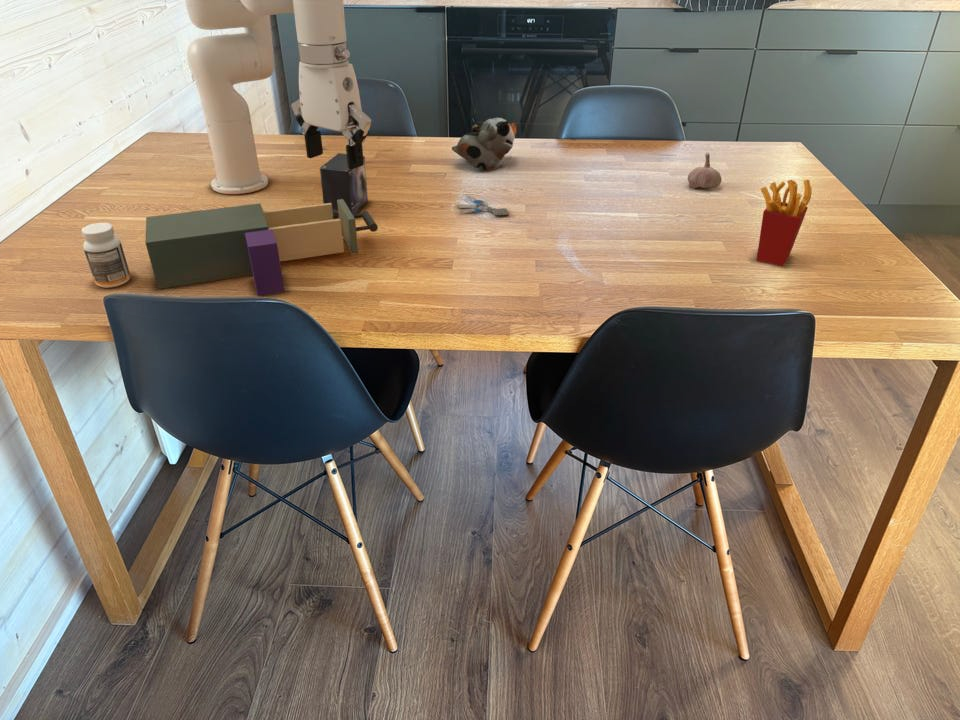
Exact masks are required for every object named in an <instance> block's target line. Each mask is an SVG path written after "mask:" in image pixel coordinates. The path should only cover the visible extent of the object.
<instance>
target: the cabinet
mask: <svg viewBox="0 0 960 720" xmlns="http://www.w3.org/2000/svg"><path fill="white" fill-rule="evenodd" d="M263 211H264V209H263V206H262V204H261V203H250V204H244V205H243V204H242V205H235V206H227V207H217V208H211V209H202V210H201V209H200V210H194V211H185V212H178V213H169V214H160V215H152V216H146V217H145V239H144V240H145V247H146V250H147V253H148V257H149V261H150V265H151V268H152V272H153V276H154V278H155V282H156V286H157V289H158V290H162V289H168V288H176V287H182V286H183V287H184V286H189V285H194V284H202V283H208V282H214V281H215V282H216V281H223V280H227V279H228V280H229V279H235V278H243V277H249V276H253V273H252V268H251V263H250V258H249V253H248V247H247V242H246V237H245V233H248V232H255V231H263V230H269V229H268V225H267V222H266V219H265V216H264V213H263Z"/></svg>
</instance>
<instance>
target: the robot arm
mask: <svg viewBox="0 0 960 720" xmlns="http://www.w3.org/2000/svg"><path fill="white" fill-rule="evenodd" d="M184 1H185V5H186V10H187V14H188V18H189V19H190V21H191V23H192V24H193V26H195V28H198V29H200V30H206V31H217V30H218V31H219V30H229V29H240V28H241V29H242V28H243V29H244V32H239V33H230V34H228V33H226V34H215V35H207V36H202V37H199V38H196V39H194V40H193V41H191V42H190V43H189V44H188V46H187V50H186V57H187V62H188V67H189V68H190V71H191V74H192V77H193V80H194V82H195V85H196V89H197V92H198V95H199V99H200V103H201V106H202V107H201V108H202V112H203V117H204V121H205V126H206V131H207V136H208V142H209V146H210V147H209V148H210V151H211V155H212V161H213V166H214V171H215V175H216V177H214V178H213V179H212V180H211V182H210V186H211V189H212V190H213V191H214V192H215V193H216V192H217V193H219V194H224V195H242V194H250V193H254V192H258V191H260V190H262V189H264V188H266V187H267V186H268V185H269V178H268V176H267V175H266V174H264V173H261V171H260V165H259V160H258V153H257V148H256V142H255V137H254V136H255V135H254V130H253V124H252V119H251V118H252V117H251V113H250V107H249V104H248V102H247V101H246V99H245V97H243V96H242V95H241V94H240V93H239V92H238V91H237V90H236V89H235V88H234V85H236V84H241V83H249V82H255V81H262V80H266V79H269V78H270V77H271V76H272V75H273V73H274V71H275V54H274V43H273V35H272V25H271V24H272V23H271V16H273V15H275V16H276V15H282V14H283V15H285V14H294V23H295V31H296V38H297V48H298V54H299V55H298V56H299V63H298V93H299V98H298V99H297V100H296V101H294V102H292V103H291V105H290V106H291V107H290V108H291V109H292V111H293V113H294V116H295V121H296V123H297V124H298V125H299V126H300V132H301V133H302V134H303V136H304V142H305V143H304V144H305V151H306V158H308V159H313V158H316V157H319V156H321V155H323V154H324V150H323V149H324V148H323V140H322V132H321V130H318V129H319V128H321V129H325V130H329V131H334V132H339V133H341V134H342V136H343V137H344V139H345V140H346V142H347V143H348V144H346V145H345V151H346V152H345V154H347V164H348V168H349V169H355V168H357V167H360V166H363V164H364V160H363V156H364V150H363V143H364V142H365V141H366V138H367V137H368V135H369V134H370V133H369V130H370V128H371V125H372V118H371V117H369V116H368V115H367V114H366V113H365V112H364V111H363V110H362V104H361V103H362V102H361V97H360V90H359V83H358V80H357V76H356V73H355V68H354V65H353V63H349V59H350V57H351V52H350V50H349V49H348V40H347V29H346V17H345V7H344V0H184ZM351 131H352V133H353V134H352V133H351Z"/></svg>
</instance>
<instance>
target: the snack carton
mask: <svg viewBox="0 0 960 720" xmlns="http://www.w3.org/2000/svg"><path fill="white" fill-rule="evenodd" d="M245 237H246V242H247V247H248V253H249V258H250V263H251V268H252V273H253V275H252V278H253V283H254V287H255V291H256V295H257V297H261V296H267V295H273V294H280V293H285V292H286V290H285V283H284V277H283V272H282V265H281V261H280V259H279V253H278V247H277V242H276V239H275V236H274V233H273V230H272V229H270V230H263V231H255V232H248V233H245Z"/></svg>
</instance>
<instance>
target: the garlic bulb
mask: <svg viewBox="0 0 960 720" xmlns="http://www.w3.org/2000/svg"><path fill="white" fill-rule="evenodd" d="M710 157H711V156H710V152H708V151H707V152H706V153H705V162H704V165H703V166H702V167H701V166H697V167H695V168H693V170H691V171H690V172H689V173H688V175H687V182H688V184H689V186H690V187H691V188H693V189H697V188H702V189H706V188H717V187H719V186H720V185H721V184H722V182H723V181H722V175H721V174H720V172H719V171H718V170H717V169H714V167H712V166H711V163H710Z"/></svg>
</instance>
